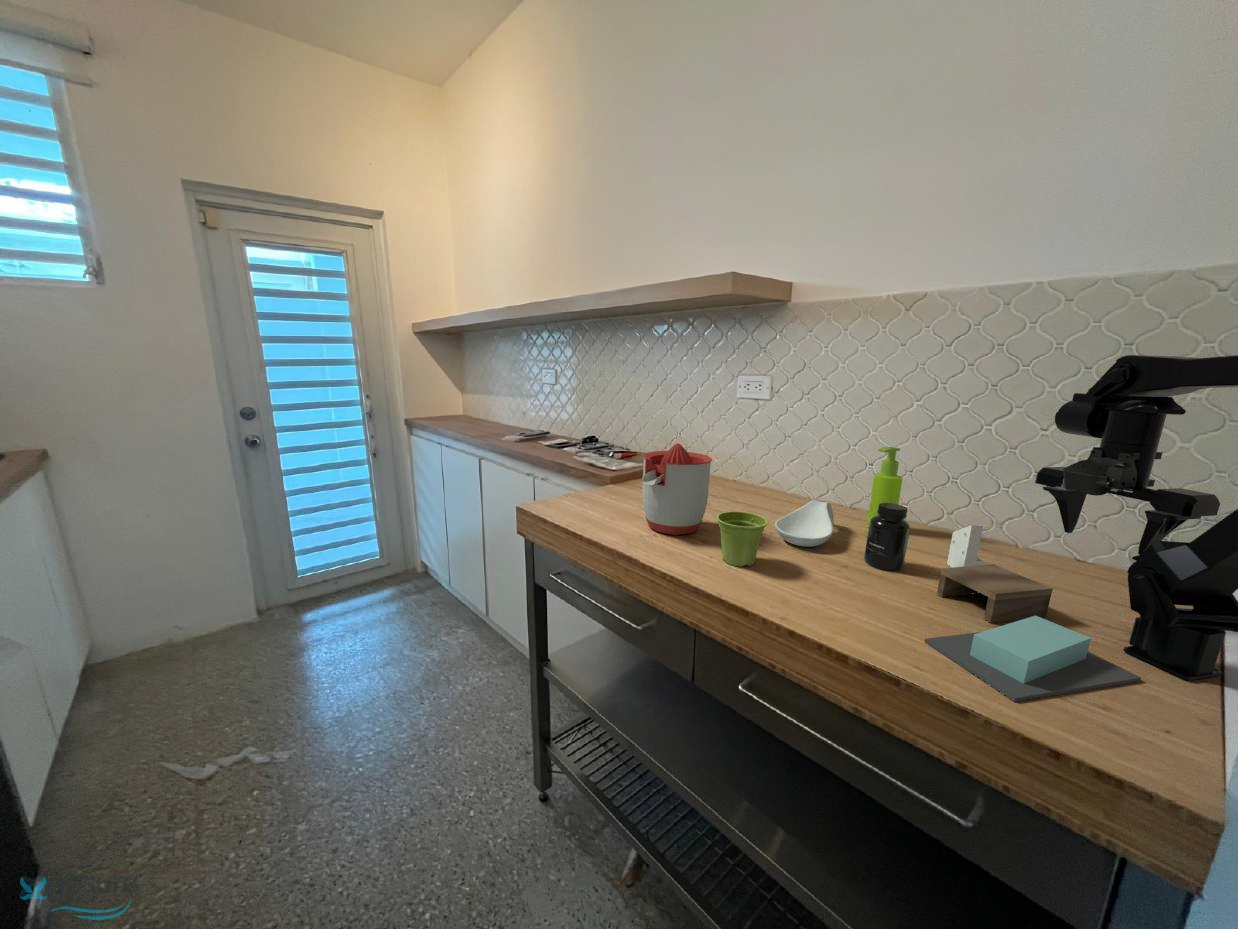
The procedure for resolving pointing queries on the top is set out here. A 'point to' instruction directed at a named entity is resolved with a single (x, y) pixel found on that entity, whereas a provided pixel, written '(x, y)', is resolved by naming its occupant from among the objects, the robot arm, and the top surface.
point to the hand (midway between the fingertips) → (1102, 543)
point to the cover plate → (1029, 648)
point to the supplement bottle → (887, 538)
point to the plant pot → (740, 536)
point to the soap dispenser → (885, 483)
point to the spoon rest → (807, 524)
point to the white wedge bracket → (965, 547)
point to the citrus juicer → (675, 489)
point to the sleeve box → (997, 591)
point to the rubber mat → (1061, 681)
